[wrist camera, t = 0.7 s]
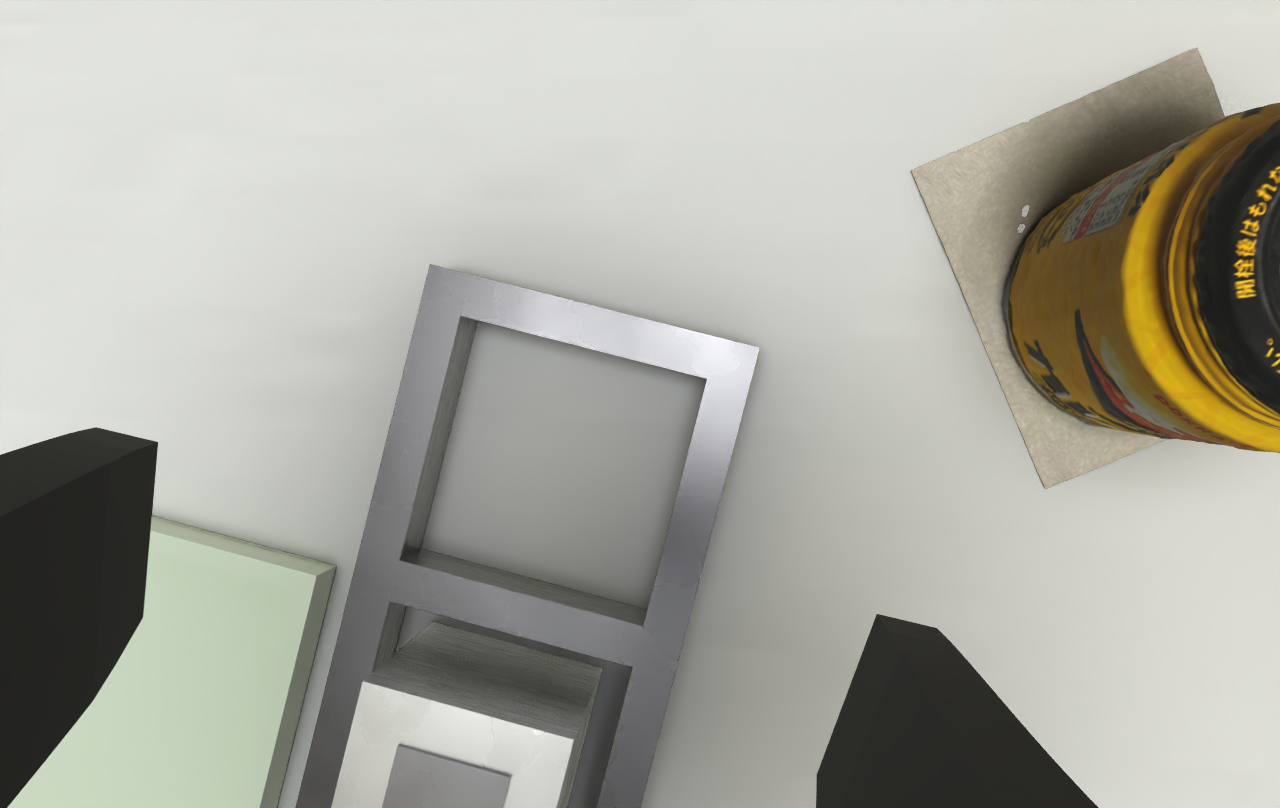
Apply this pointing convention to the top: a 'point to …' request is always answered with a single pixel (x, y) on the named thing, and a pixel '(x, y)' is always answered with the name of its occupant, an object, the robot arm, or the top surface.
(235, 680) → the parts tray
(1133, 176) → the condiment
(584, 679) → the grey box
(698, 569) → the rack frame
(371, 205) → the top surface
